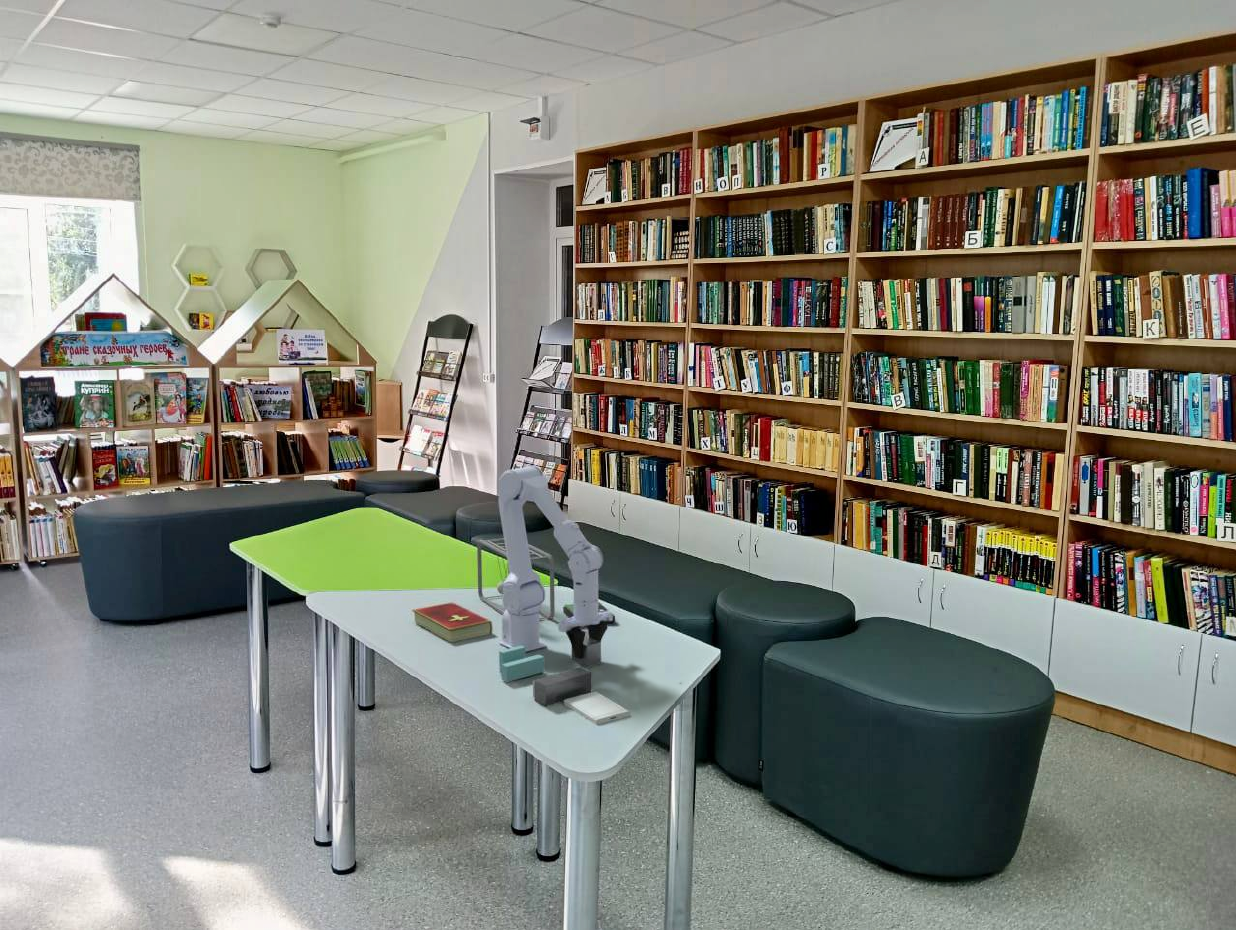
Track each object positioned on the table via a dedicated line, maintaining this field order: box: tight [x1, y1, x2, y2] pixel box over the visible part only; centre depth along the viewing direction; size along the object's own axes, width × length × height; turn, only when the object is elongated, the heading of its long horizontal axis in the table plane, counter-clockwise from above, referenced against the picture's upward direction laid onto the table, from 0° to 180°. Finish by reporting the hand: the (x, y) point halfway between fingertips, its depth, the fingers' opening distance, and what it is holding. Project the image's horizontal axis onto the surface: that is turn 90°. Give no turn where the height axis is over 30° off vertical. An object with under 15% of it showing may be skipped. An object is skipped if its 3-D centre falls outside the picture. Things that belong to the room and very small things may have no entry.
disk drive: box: [562, 601, 616, 629], centre depth 260 cm, size 10×3×15 cm
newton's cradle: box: [476, 537, 556, 621], centre depth 266 cm, size 30×10×18 cm, turn 29°
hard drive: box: [563, 691, 631, 725], centre depth 198 cm, size 2×8×12 cm
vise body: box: [532, 666, 593, 707], centre depth 205 cm, size 6×12×4 cm, turn 130°
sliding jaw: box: [498, 646, 545, 683], centre depth 217 cm, size 6×10×5 cm, turn 130°
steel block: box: [571, 635, 602, 667], centre depth 226 cm, size 6×4×5 cm, turn 40°
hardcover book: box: [411, 601, 493, 643], centre depth 251 cm, size 12×21×4 cm, turn 37°
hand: (586, 655), depth 226 cm, fingers closed on steel block, 4 cm apart
